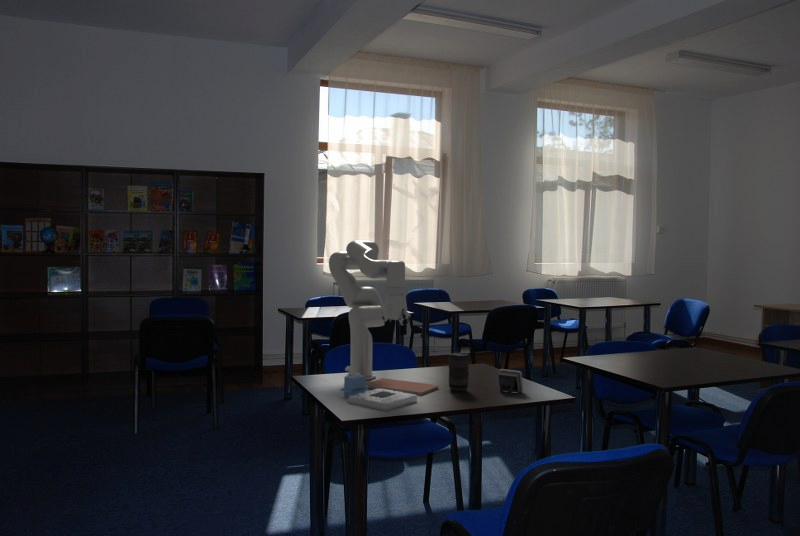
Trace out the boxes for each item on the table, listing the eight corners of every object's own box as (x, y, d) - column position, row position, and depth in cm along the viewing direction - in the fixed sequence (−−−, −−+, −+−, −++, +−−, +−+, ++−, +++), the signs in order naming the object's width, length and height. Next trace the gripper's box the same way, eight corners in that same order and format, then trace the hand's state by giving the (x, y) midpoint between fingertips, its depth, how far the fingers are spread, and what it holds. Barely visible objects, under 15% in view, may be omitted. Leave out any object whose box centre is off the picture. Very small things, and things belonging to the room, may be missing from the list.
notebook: (361, 389, 261) (361, 384, 261) (382, 382, 276) (382, 377, 276) (419, 397, 247) (419, 392, 247) (439, 389, 262) (439, 384, 262)
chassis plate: (348, 402, 236) (348, 395, 236) (379, 394, 250) (380, 388, 250) (385, 410, 225) (385, 403, 225) (416, 401, 239) (416, 394, 239)
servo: (349, 399, 242) (349, 377, 242) (340, 397, 245) (340, 375, 244) (368, 394, 250) (368, 373, 250) (359, 392, 253) (360, 371, 253)
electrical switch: (523, 392, 256) (523, 370, 255) (519, 396, 252) (518, 373, 251) (501, 390, 261) (501, 367, 260) (496, 393, 256) (496, 370, 255)
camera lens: (457, 388, 263) (457, 351, 262) (472, 391, 257) (473, 354, 257) (444, 391, 257) (444, 353, 257) (459, 394, 251) (460, 356, 251)
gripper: (375, 290, 262) (374, 332, 263) (402, 292, 249) (402, 336, 249) (389, 290, 267) (389, 331, 267) (416, 292, 254) (416, 335, 254)
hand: (395, 333), depth 258 cm, fingers open, 9 cm apart
